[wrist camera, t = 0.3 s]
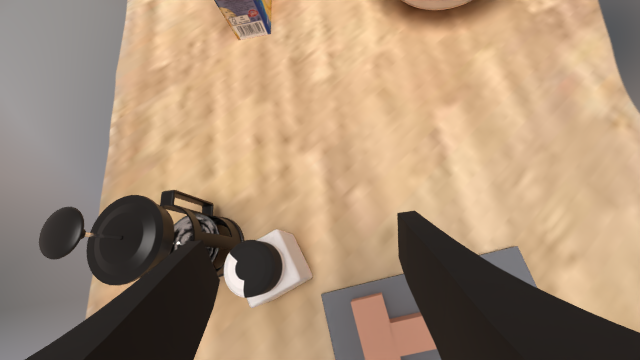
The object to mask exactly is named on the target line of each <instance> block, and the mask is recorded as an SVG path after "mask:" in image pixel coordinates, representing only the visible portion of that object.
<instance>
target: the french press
mask: <svg viewBox="0 0 640 360" xmlns="http://www.w3.org/2000/svg"><path fill="white" fill-rule="evenodd" d="M175 198H178V199H182V200H185V201H188V202H191V203H194V204H197V205H201V206H202V213H201V212H197V211H193V210H190V209H186V208H184V207H180V206H176V205H174V199H175ZM166 209H168V210H172V211H176V212H180V213H184V214H187V216H185V217H183V218H182V219H180V220H179V221H178V222H177V223H176V224H173V220H172V218H171V216H170V214H169V213H168V211H167V210H166ZM216 225H223V226H225V227H227V228H228V229H229V231H230V235H231V237H230V236H224V235H220V233H219V230H218V228H217V226H216ZM84 237H89V239H88V244H87V260H88V264H89V267H90V269H91V271H92V273H93V275H94V276H95V277H96V278H97V279H98V280H100V281H101V282H103V283H105V284H108V285H123V284H128V283H130V282H133V281H135V280H137V279H138V278H141V277H143V276H144V275H145V274H146V273H147V272H149V271H150V270H151V269H152V268H154V267H155V266H156V265H157V264H159V263H160V262H161V261H162V260H164V259H165V258H166V257H167V256H169V255H170V254H171V253H172V252H174V251H175V250H176V249H178V248H179V247H180V246H182V245H183V244H185V243H186V242H191V241H198V240H203V242H204V245H205V247H206V249H207V252H208V254H209V256H210V259H211V261H212V263H213V261H214V260H215V258H216V256H217V254H218V252H219V249H220V248H224V249H231V250H232V249H233V248H234V247H235V246H236V245H237V244H239V243H241V242H243V241H244V237H243V233H242V231H241V229H240V227H239V226H238V225H237V224H236V223H235V222H234V221H232V220H230V219H228V218H224V217H216V216H213V203H211V202H208V201H205V200H202V199H199V198H196V197H194V196H191V195H188V194H185V193H182V192H179V191H177V190H170V191H164V192H162V195H161V203H160V205H158V204H156V203H155V202H154V201H153V200H151V199H149V198H147V197H144V196H140V195H130V196H126V197H123V198H120V199H118V200H116V201H115V202H113V203H112V204H110V205H109V206H108V207H107V208H106V209H105V210H104V211H103V212H102V213H101V214H100V216H99V217H98V218H97V220H96V222H95V223H94V225H93V227H92V230H91V232H90V233H87V232H86V231H85V230H84V219H83V216H82V214H81V212H80V211H79V210H78V209H76V208H73V207H64V208H61V209H59V210H57V211H56V212H54V213H53V214H52V215H51V216H50V217H49V218H48V219H47V221H46V222H45V224H44V226H43V228H42V230H41V233H40V238H39V246H40V250H41V252H42V254H43V255H44V256H46V257H47V258H49V259H60V258H62V257H64V256H66V255H68V254H69V253H70V252H71V251H72V250H73V249H74V248H75V247H76V245H77V244H78V243H79V241H80V239H82V238H84ZM231 250H230V251H231ZM224 264H225V263H224ZM224 264H223V266H222V267H220V268H218V269H215V270H216V272H217V275H218V277H222V276H224Z"/></svg>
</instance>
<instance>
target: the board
mask: <svg viewBox="0 0 640 360" xmlns="http://www.w3.org/2000/svg"><path fill="white" fill-rule="evenodd" d="M479 256H480V257H482V258H484V259H485V260H487V261H489V262H490V263H492V264H494V265H495V266H497V267H499V268H500V269H502V270H504V271H506V272H508V273H510V274H511V275H513V276H515V277H517V278H519V279H521V280H523V281H525V282H526V283H528V284H530V285H532V286H534V287H536V288H537V286H536V284H535V282H534V280H533V278H532V276H531V274H530V271H529V269H528V267H527V265H526V263H525V261H524V259H523V257H522V255H521V253H520V250H519V248H518V246H516V247H510V248H506V249H502V250H498V251H494V252H490V253H486V254H482V255H479ZM381 292H382V296H383V299H384V303H385V306H386V309H387V313H388V316H389V319H392V318H396V317H401V316H405V315H409V314H414V313H418V312H420V310H419V308H418V306H417V304H416V302H415V299H414V297H413V295H412V293H411V291H410V288H409V286H408V284H407V281H406V278H405V275H404V274H401V275H397V276H392V277H388V278H384V279H380V280H376V281H372V282H368V283H364V284H360V285H356V286H352V287H348V288H344V289H340V290H336V291H331V292H327V293H323V294H321V296H322V301H323V305H324V310H325V314H326V319H327V323H328V328H329V332H330V337H331V341H332V346H333V350H334V355H335V359H336V360H365V357H364V353H363V349H362V345H361V341H360V337H359V333H358V330H357V326H356V322H355V318H354V314H353V310H352V306H351V301H352V299H356V298H360V297H364V296H368V295H373V294H377V293H381ZM400 357H401V360H441V357H440V355H439V352H438V350H437V349H434V350H429V351H424V352H419V353H414V354H410V355H405V356H400Z"/></svg>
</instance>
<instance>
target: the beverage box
mask: <svg viewBox="0 0 640 360" xmlns="http://www.w3.org/2000/svg"><path fill="white" fill-rule="evenodd" d="M214 1H215V2H216V4H217V6H218V7H219V9H220V11H221V12H222V14H223V15H224V17H225V19H226V20H227V22H228V23H229V25H230V27H231V28H232V30H233V31H234V33H235V35H236V36H237V38H238V39H239V40H243V39H248V38H253V37H258V36H263V35H268V34H271V2H272V0H214Z"/></svg>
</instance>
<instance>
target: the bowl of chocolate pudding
mask: <svg viewBox="0 0 640 360" xmlns="http://www.w3.org/2000/svg"><path fill="white" fill-rule="evenodd" d="M402 1H403V2H405V3H407V4H409V5H411V6H413V7H416V8H420V9H426V10H444V9H450V8H455V7H458V6H461V5H464V4H466V3H468V2H470V1H472V0H402Z"/></svg>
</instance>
